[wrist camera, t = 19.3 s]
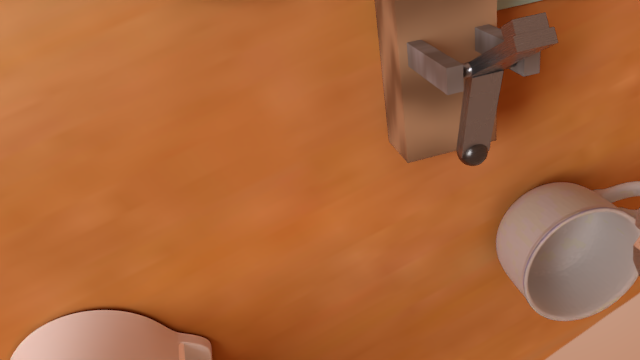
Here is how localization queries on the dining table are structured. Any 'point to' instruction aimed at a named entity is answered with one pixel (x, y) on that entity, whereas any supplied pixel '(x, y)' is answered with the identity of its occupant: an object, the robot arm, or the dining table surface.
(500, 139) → the dining table surface
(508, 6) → the mat
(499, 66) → the lever
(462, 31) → the brown lever base
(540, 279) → the teacup
